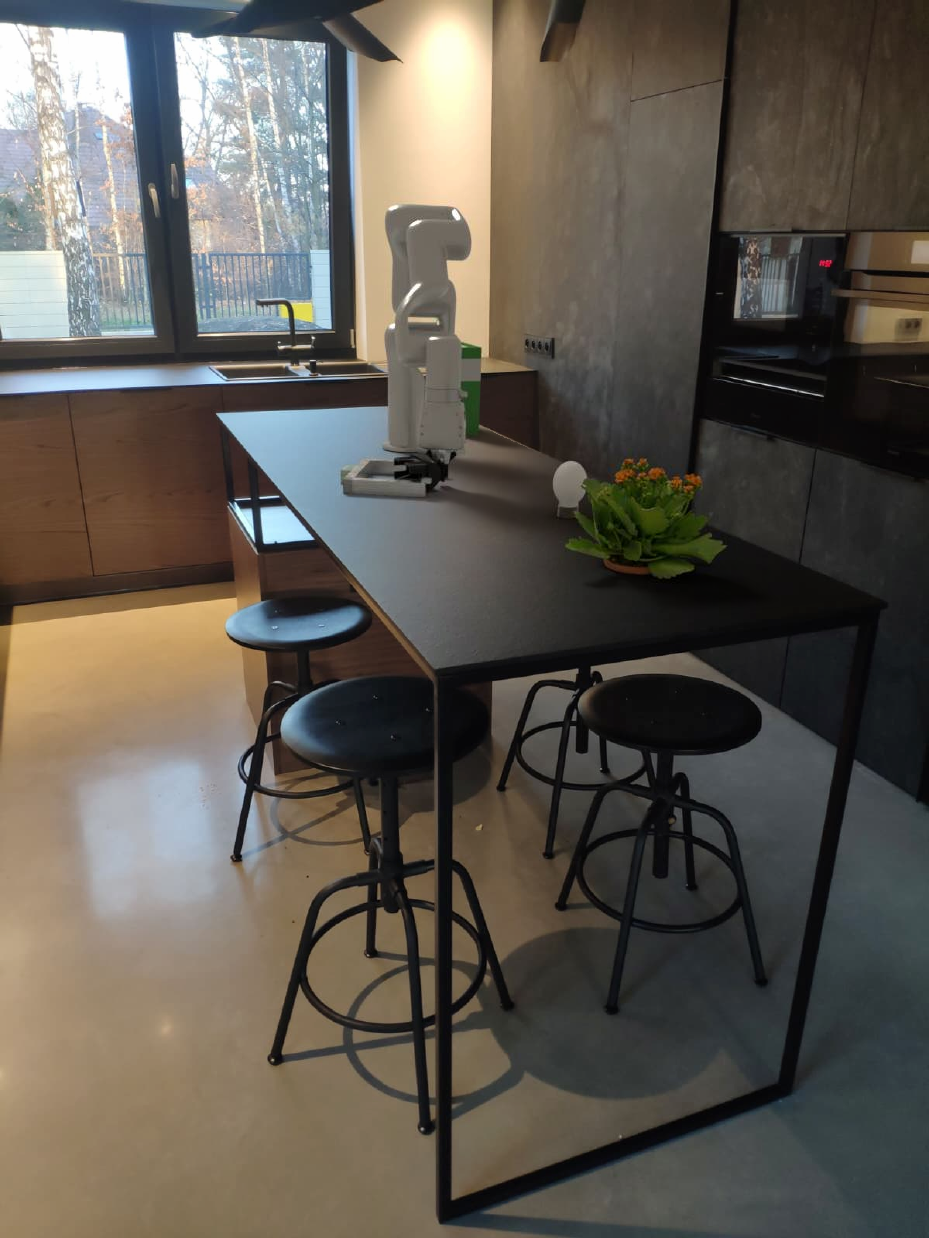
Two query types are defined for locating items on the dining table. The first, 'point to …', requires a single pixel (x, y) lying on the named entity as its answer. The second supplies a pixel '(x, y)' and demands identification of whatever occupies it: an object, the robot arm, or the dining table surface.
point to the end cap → (417, 470)
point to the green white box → (471, 385)
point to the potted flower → (644, 523)
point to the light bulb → (569, 488)
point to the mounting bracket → (360, 484)
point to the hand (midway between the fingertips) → (441, 480)
